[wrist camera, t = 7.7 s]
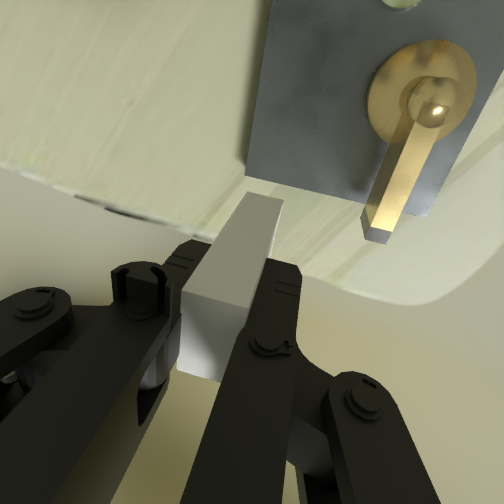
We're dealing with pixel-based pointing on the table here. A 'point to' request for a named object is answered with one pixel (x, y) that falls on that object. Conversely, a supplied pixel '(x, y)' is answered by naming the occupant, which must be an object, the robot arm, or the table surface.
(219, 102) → the table surface
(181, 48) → the table surface
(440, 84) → the brass knob
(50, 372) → the robot arm
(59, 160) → the table surface
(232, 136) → the table surface
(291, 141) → the levelling plate
